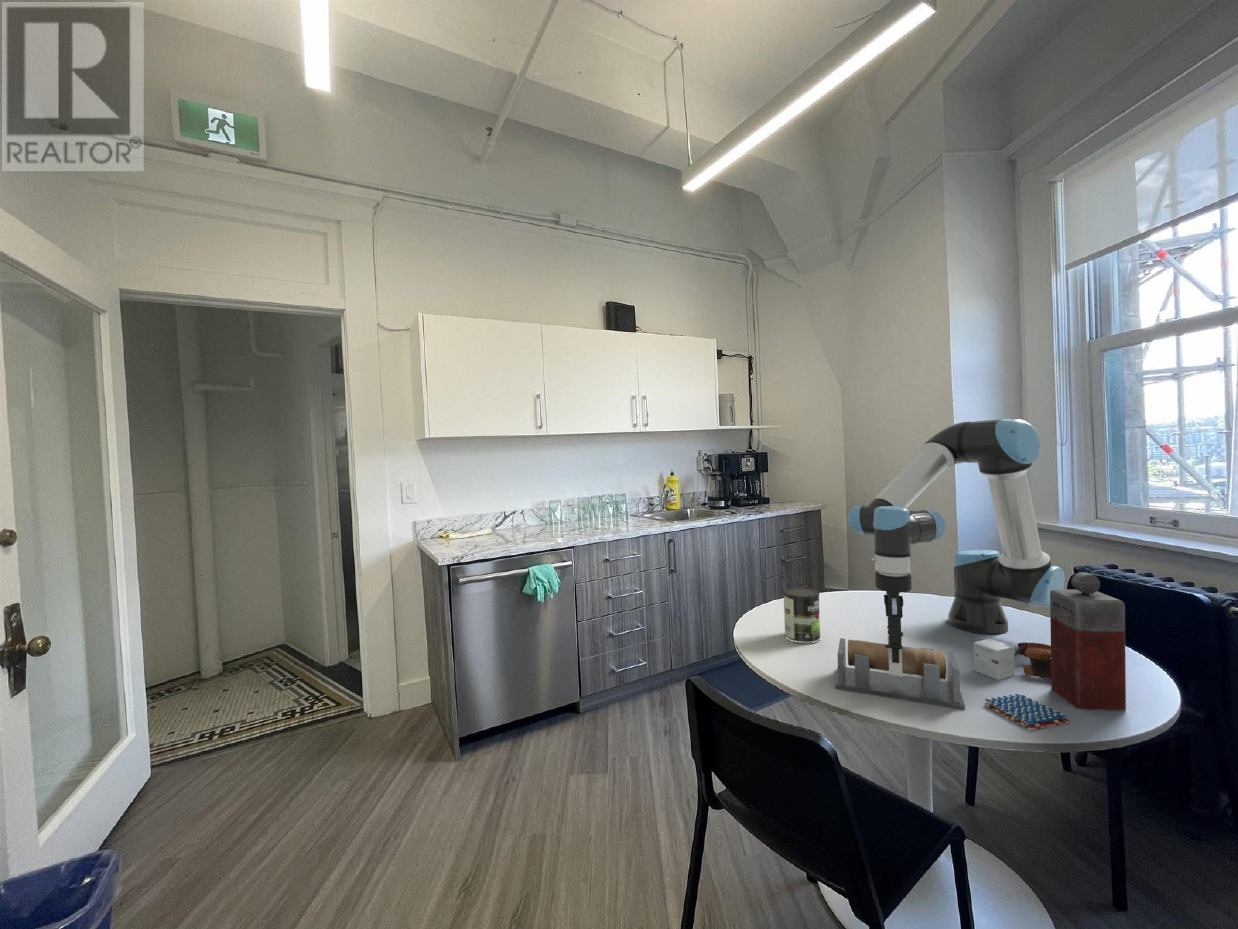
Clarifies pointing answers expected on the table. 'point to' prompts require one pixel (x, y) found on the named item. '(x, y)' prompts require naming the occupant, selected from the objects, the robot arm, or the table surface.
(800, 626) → the coffee can
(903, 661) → the tan cylinder
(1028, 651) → the orange brown curved figurine
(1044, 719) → the woven mat
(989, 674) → the skincare box
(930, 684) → the bracket
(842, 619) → the table surface
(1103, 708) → the red grey decanter
